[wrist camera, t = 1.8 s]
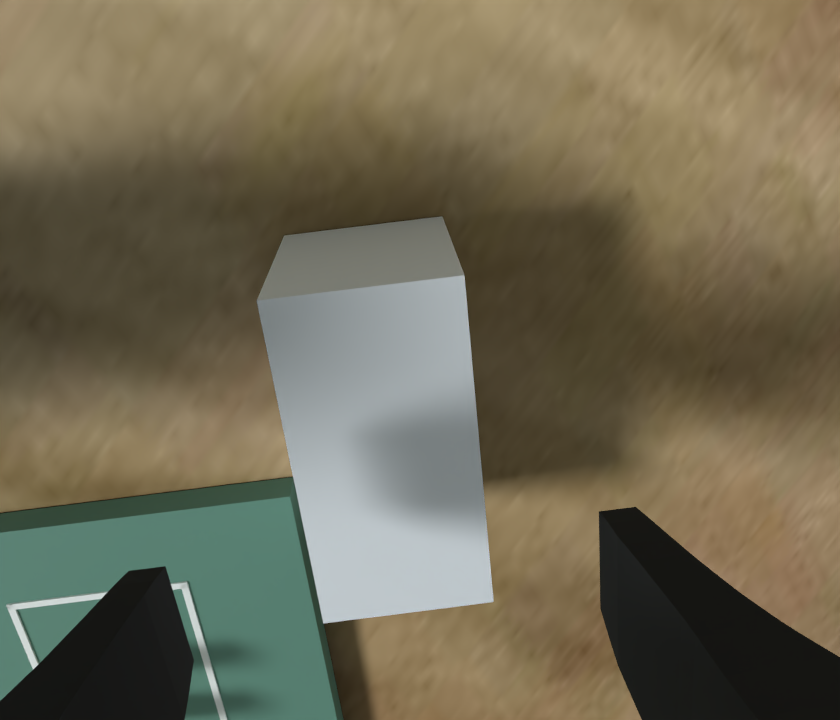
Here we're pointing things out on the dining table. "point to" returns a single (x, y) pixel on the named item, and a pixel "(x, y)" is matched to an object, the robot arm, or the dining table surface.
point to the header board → (181, 591)
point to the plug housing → (380, 416)
